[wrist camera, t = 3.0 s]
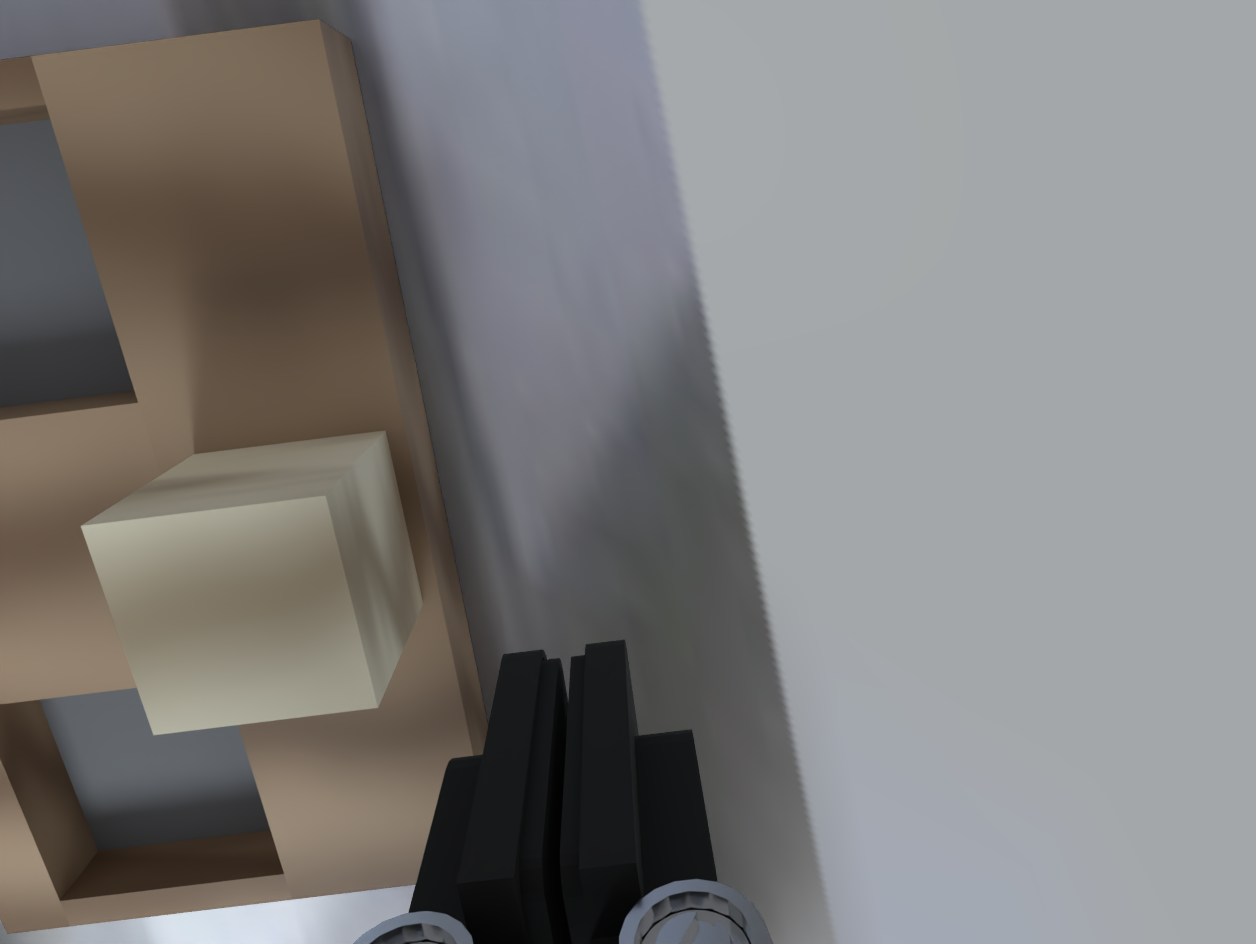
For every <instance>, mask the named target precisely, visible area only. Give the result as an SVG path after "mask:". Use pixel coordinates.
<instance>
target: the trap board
mask: <svg viewBox="0 0 1256 944" xmlns="http://www.w3.org/2000/svg"><path fill="white" fill-rule="evenodd" d="M385 430H386V435H387V439H388V444H389V448H390V453H391V458H392V462H393V467H394V471H395V476H396V481H397V485H398V490H399V494H400V499H401V504H402V508H403V513H404V517H405V522H406V527H407V531H408V536H409V540H410V545H411V550H412V554H413V559H414V563H415V568H416V572H417V577H418V582H419V586H420V591H421V595H422V600H423V606H422V608H421V610H420V612H419V615H418V617H417V619H416V622H415V624H414V626H413V629H412V631H411V633H410V636H409V638H408V640H407V642H406V645H405V647H404V649H403V652H402V654H401V656H400V659H399V661H398V663H397V665H396V668H395V670H394V672H393V675H392V677H391V679H390V682H389V684H388V686H387V688H386V691H385V693H384V695H383V698H382V700H381V702H380V705H379V707H378V708H373V709H365V710H357V711H348V712H340V713H332V714H324V715H316V716H307V717H299V718H291V719H283V720H275V721H267V722H258V723H250V724H242V725H234V726H226V727H217V728H209V729H201V730H193V731H185V732H177V733H168V734H160V735H153V733H152V730H151V727H150V724H149V721H148V718H147V715H146V712H145V710H144V707H143V704H142V701H141V698H140V695H139V692H138V689H137V687H136V684H135V681H134V678H133V675H132V672H131V669H130V666H129V664H128V661H127V658H126V655H125V652H124V649H123V646H122V643H121V641H120V638H119V635H118V632H117V629H116V626H115V623H114V620H113V618H112V615H111V612H110V609H109V606H108V603H107V600H106V598H105V595H104V592H103V589H102V586H101V583H100V580H99V577H98V575H97V572H96V569H95V566H94V563H93V560H92V557H91V554H90V552H89V549H88V546H87V543H86V540H85V537H84V534H83V531H82V529H81V525H83V524H85V523H86V522H88V521H89V520H91V519H92V518H94V517H96V516H97V515H99V514H100V513H102V512H104V511H105V510H107V509H108V508H110V507H111V506H113V505H115V504H116V503H118V502H119V501H121V500H122V499H124V498H126V497H127V496H129V495H130V494H132V493H134V492H135V491H137V490H138V489H140V488H141V487H143V486H145V485H146V484H148V483H149V482H151V481H152V480H154V479H156V478H157V477H159V476H160V475H162V474H163V473H165V472H167V471H168V470H170V469H171V468H173V467H175V466H176V465H178V464H179V463H181V462H182V461H184V460H186V459H187V458H189V457H190V456H192V455H193V454H200V453H208V452H216V451H224V450H232V449H240V448H248V447H256V446H264V445H272V444H280V443H288V442H296V441H304V440H312V439H320V438H328V437H336V436H344V435H353V434H361V433H369V432H377V431H385ZM487 730H488V721H487V716H486V711H485V706H484V701H483V696H482V691H481V686H480V682H479V677H478V672H477V667H476V662H475V657H474V652H473V647H472V642H471V637H470V632H469V627H468V622H467V617H466V612H465V607H464V602H463V597H462V592H461V587H460V582H459V577H458V572H457V567H456V562H455V557H454V552H453V547H452V542H451V537H450V532H449V527H448V522H447V517H446V512H445V507H444V502H443V497H442V492H441V487H440V482H439V477H438V473H437V468H436V463H435V458H434V453H433V448H432V443H431V438H430V433H429V428H428V423H427V418H426V413H425V408H424V403H423V398H422V393H421V388H420V383H419V378H418V373H417V368H416V363H415V358H414V353H413V348H412V343H411V338H410V333H409V328H408V323H407V318H406V313H405V308H404V303H403V298H402V293H401V288H400V283H399V278H398V273H397V268H396V263H395V259H394V254H393V249H392V244H391V239H390V234H389V229H388V224H387V219H386V214H385V209H384V204H383V199H382V194H381V189H380V184H379V179H378V174H377V169H376V164H375V159H374V154H373V149H372V144H371V139H370V134H369V129H368V124H367V119H366V114H365V109H364V104H363V99H362V94H361V89H360V84H359V79H358V74H357V69H356V64H355V59H354V54H353V49H352V45H351V40H350V38H348V37H346V36H345V35H343V34H342V33H340V32H339V31H337V30H335V29H334V28H332V27H331V26H329V25H327V24H326V23H324V22H323V21H321V20H320V19H315V20H307V21H300V22H292V23H284V24H276V25H268V26H261V27H253V28H245V29H237V30H229V31H222V32H214V33H206V34H198V35H190V36H183V37H175V38H167V39H159V40H151V41H143V42H136V43H128V44H120V45H112V46H104V47H97V48H89V49H81V50H73V51H65V52H58V53H50V54H42V55H34V56H26V57H19V58H11V59H3V60H0V919H1V921H2V923H3V926H4V928H5V930H6V932H7V934H10V933H18V932H27V931H35V930H43V929H52V928H60V927H68V926H76V925H85V924H93V923H101V922H110V921H118V920H126V919H134V918H143V917H151V916H159V915H168V914H176V913H184V912H192V911H201V910H209V909H217V908H226V907H234V906H242V905H250V904H259V903H267V902H275V901H284V900H292V899H300V898H308V897H317V896H325V895H333V894H342V893H350V892H358V891H366V890H375V889H383V888H391V887H400V886H408V885H416V882H417V878H418V874H419V870H420V866H421V863H422V859H423V855H424V851H425V847H426V843H427V839H428V836H429V832H430V828H431V824H432V820H433V816H434V812H435V809H436V805H437V801H438V797H439V793H440V789H441V785H442V782H443V778H444V774H445V770H446V767H447V765H448V762H449V761H450V760H451V759H452V758H458V757H467V756H475V755H483V750H484V745H485V740H486V735H487Z"/></svg>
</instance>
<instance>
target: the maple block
mask: <svg viewBox="0 0 1256 944" xmlns="http://www.w3.org/2000/svg"><path fill="white" fill-rule="evenodd" d="M81 529H82V531H83V534H84V537H85V540H86V543H87V546H88V549H89V552H90V554H91V557H92V560H93V563H94V566H95V569H96V572H97V575H98V577H99V580H100V583H101V586H102V589H103V592H104V595H105V598H106V600H107V603H108V606H109V609H110V612H111V615H112V618H113V620H114V623H115V626H116V629H117V632H118V635H119V638H120V641H121V643H122V646H123V649H124V652H125V655H126V658H127V661H128V664H129V666H130V669H131V672H132V675H133V678H134V681H135V684H136V687H137V689H138V692H139V695H140V698H141V701H142V704H143V707H144V710H145V712H146V715H147V718H148V721H149V724H150V727H151V730H152V733H153V735H160V734H168V733H177V732H185V731H193V730H201V729H209V728H217V727H226V726H234V725H242V724H250V723H258V722H267V721H275V720H283V719H291V718H299V717H307V716H316V715H324V714H332V713H340V712H348V711H357V710H365V709H373V708H378V707H379V705H380V702H381V700H382V698H383V695H384V693H385V691H386V688H387V686H388V684H389V682H390V679H391V677H392V675H393V672H394V670H395V668H396V665H397V663H398V661H399V659H400V656H401V654H402V652H403V649H404V647H405V645H406V642H407V640H408V638H409V636H410V633H411V631H412V629H413V626H414V624H415V622H416V619H417V617H418V615H419V612H420V610H421V608H422V606H423V600H422V595H421V591H420V586H419V582H418V577H417V572H416V568H415V563H414V559H413V554H412V550H411V545H410V540H409V536H408V531H407V527H406V522H405V517H404V513H403V508H402V504H401V499H400V494H399V490H398V485H397V481H396V476H395V471H394V467H393V462H392V458H391V453H390V448H389V444H388V439H387V435H386V430H385V431H377V432H369V433H361V434H353V435H344V436H336V437H328V438H320V439H312V440H304V441H296V442H288V443H280V444H272V445H264V446H256V447H248V448H240V449H232V450H224V451H216V452H208V453H200V454H193V455H192V456H190V457H189V458H187V459H186V460H184V461H182V462H181V463H179V464H178V465H176V466H175V467H173V468H171V469H170V470H168V471H167V472H165V473H163V474H162V475H160V476H159V477H157V478H156V479H154V480H152V481H151V482H149V483H148V484H146V485H145V486H143V487H141V488H140V489H138V490H137V491H135V492H134V493H132V494H130V495H129V496H127V497H126V498H124V499H122V500H121V501H119V502H118V503H116V504H115V505H113V506H111V507H110V508H108V509H107V510H105V511H104V512H102V513H100V514H99V515H97V516H96V517H94V518H92V519H91V520H89V521H88V522H86V523H85V524H83V525H81Z"/></svg>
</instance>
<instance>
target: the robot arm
mask: <svg viewBox="0 0 1256 944" xmlns="http://www.w3.org/2000/svg"><path fill="white" fill-rule="evenodd" d="M353 944H773V942H772V940H771V937H770V935H769V932H768V930H767V927H766V925H765V922H764V920H763V919H762V917H761V915H760V914H759V912H758V911H757V909H756V907H755V906H754V904H753V903H752V902H751V901H750V900H748V899H747V898H746V897H745V896H744V895H742V894H741V893H740V892H739V891H737V890H735V889H733V888H731V887H728V886H726V885H724V884H721V883H719V882H717V876H716V870H715V864H714V858H713V852H712V846H711V840H710V834H709V828H708V822H707V816H706V810H705V804H704V798H703V792H702V786H701V780H700V774H699V768H698V762H697V756H696V750H695V744H694V739H693V733H692V729H691V730H683V731H674V732H666V733H658V734H650V735H641V736H638V729H637V721H636V714H635V707H634V699H633V692H632V685H631V678H630V670H629V663H628V656H627V649H626V643H625V640H618V641H609V642H601V643H593V644H586V647H585V655H582V656H574V657H571V668H570V685H569V702H568V699H567V693H566V687H565V681H564V675H563V669H562V664H561V660H560V658H557V659H549V660H547V658H546V655H545V652H544V650H535V651H527V652H519V653H511V654H504V655H503V657H502V661H501V666H500V671H499V676H498V681H497V686H496V691H495V696H494V701H493V706H492V711H491V716H490V720H489V725H488V730H487V735H486V740H485V745H484V750H483V755H475V756H467V757H458V758H452V759H451V760H450V761H449V762H448V765H447V767H446V770H445V774H444V778H443V782H442V785H441V789H440V793H439V797H438V801H437V805H436V809H435V812H434V816H433V820H432V824H431V828H430V832H429V836H428V839H427V843H426V847H425V851H424V855H423V859H422V863H421V866H420V870H419V874H418V878H417V882H416V886H415V890H414V893H413V897H412V901H411V905H410V909H409V913H406V914H403V915H400V916H397V917H394V918H392V919H389V920H386V921H384V922H382V923H380V924H379V925H377V926H375V927H374V928H372V929H371V930H369V931H367V932H366V933H364V934H363V935H362V936H361V937H359V938H358V939H357V940H356V941H355V942H354V943H353Z"/></svg>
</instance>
